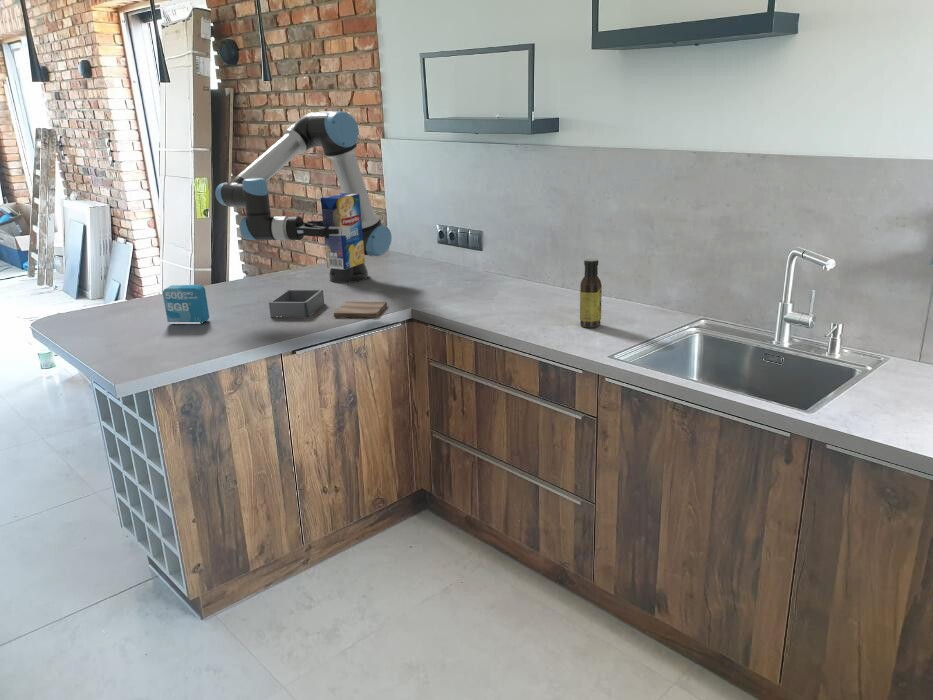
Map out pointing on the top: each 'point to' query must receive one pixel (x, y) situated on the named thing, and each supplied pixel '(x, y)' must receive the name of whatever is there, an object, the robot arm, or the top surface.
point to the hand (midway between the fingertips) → (355, 227)
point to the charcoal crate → (296, 303)
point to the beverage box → (341, 248)
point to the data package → (186, 303)
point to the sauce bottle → (590, 295)
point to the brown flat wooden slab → (360, 309)
